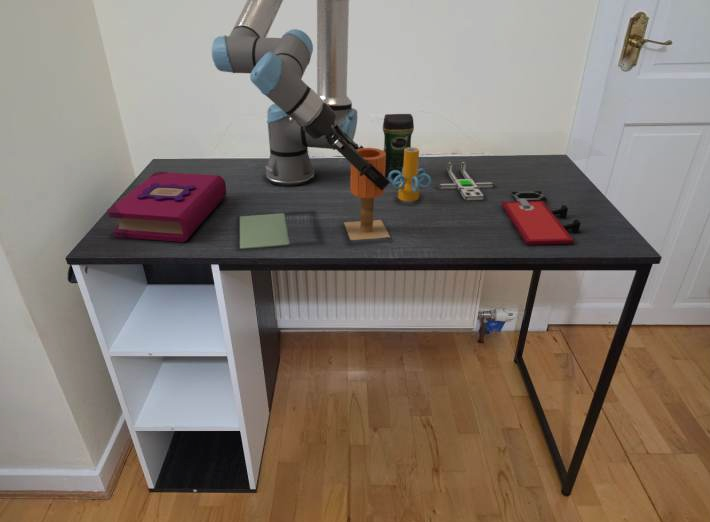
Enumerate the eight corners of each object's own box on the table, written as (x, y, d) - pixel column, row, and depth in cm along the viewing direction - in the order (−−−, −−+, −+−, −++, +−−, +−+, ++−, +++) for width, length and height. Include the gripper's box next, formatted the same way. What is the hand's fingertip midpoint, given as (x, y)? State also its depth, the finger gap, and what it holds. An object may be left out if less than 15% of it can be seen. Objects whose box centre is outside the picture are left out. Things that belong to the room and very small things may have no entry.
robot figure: (430, 173, 168) (446, 200, 149) (431, 163, 166) (447, 190, 148) (480, 171, 168) (502, 199, 150) (482, 161, 167) (504, 188, 148)
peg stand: (343, 226, 136) (343, 179, 129) (381, 223, 138) (383, 176, 131) (350, 244, 128) (350, 195, 121) (390, 241, 129) (392, 192, 122)
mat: (239, 217, 141) (239, 216, 141) (312, 212, 144) (312, 210, 144) (240, 249, 127) (239, 248, 126) (321, 242, 129) (321, 241, 129)
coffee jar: (409, 168, 172) (413, 110, 161) (412, 176, 165) (417, 117, 155) (379, 168, 171) (381, 111, 161) (382, 177, 165) (384, 118, 155)
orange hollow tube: (348, 186, 130) (348, 148, 124) (379, 183, 131) (381, 146, 125) (354, 199, 123) (354, 160, 118) (387, 196, 124) (389, 158, 119)
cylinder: (432, 196, 152) (437, 145, 144) (425, 210, 144) (430, 158, 136) (391, 191, 156) (394, 141, 147) (382, 205, 147) (385, 153, 139)
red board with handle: (546, 194, 152) (494, 195, 152) (548, 185, 150) (496, 186, 151) (587, 244, 127) (526, 246, 127) (590, 234, 126) (528, 236, 126)
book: (227, 198, 152) (224, 173, 148) (189, 243, 129) (183, 215, 125) (160, 193, 156) (155, 169, 151) (111, 237, 132) (103, 209, 128)
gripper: (297, 114, 124) (361, 174, 135) (306, 142, 107) (379, 208, 118) (318, 90, 122) (382, 153, 133) (331, 115, 105) (404, 184, 116)
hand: (381, 178), depth 126 cm, fingers closed on orange hollow tube, 8 cm apart
